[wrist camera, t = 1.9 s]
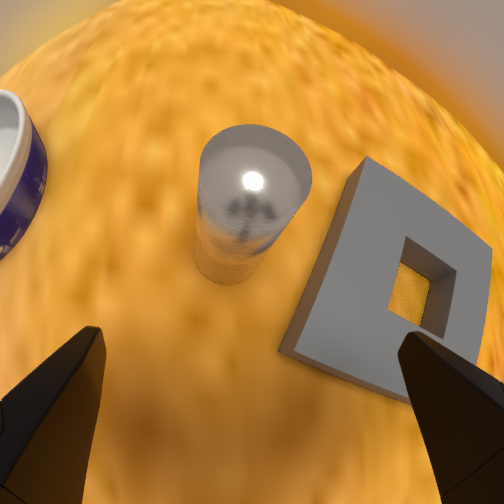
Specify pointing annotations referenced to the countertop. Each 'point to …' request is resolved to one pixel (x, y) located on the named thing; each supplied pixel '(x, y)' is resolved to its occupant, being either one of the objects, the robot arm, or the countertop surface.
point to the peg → (246, 198)
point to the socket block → (388, 283)
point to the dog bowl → (18, 170)
